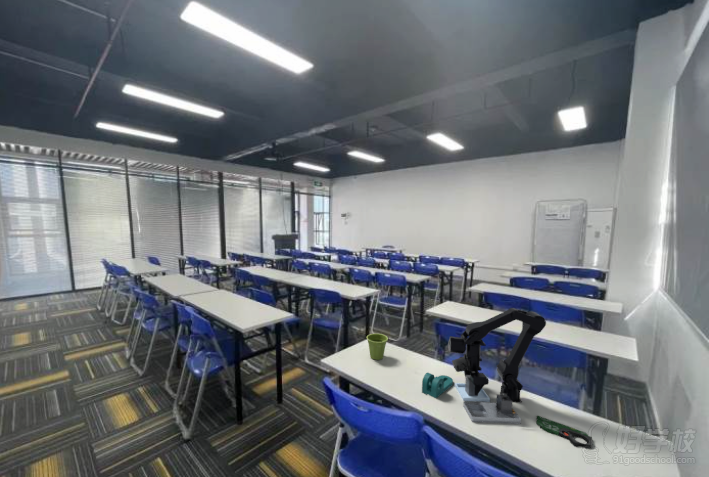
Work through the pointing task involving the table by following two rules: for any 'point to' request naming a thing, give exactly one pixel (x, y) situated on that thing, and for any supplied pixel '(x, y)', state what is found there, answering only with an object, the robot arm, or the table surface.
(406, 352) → the table surface
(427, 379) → the bracket
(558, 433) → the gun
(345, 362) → the table surface
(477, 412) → the grey socket base
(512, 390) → the robot arm
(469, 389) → the plug
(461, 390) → the tray
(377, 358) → the plant pot
